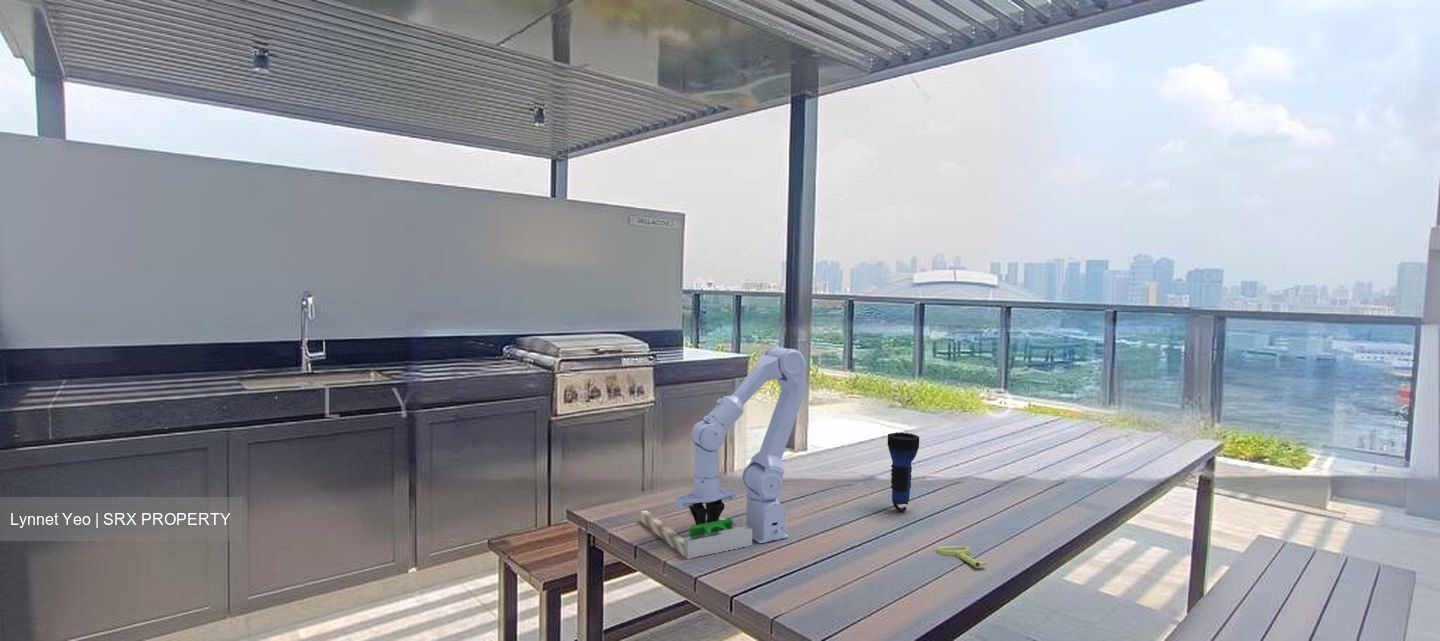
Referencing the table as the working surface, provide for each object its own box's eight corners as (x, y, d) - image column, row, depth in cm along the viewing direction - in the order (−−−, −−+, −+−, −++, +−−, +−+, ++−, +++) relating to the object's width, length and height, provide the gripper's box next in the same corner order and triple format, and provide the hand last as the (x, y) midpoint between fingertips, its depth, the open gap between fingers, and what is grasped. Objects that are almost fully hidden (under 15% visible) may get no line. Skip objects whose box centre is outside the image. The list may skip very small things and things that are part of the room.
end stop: (752, 546, 144) (752, 528, 143) (687, 559, 136) (688, 541, 136) (747, 542, 145) (747, 525, 145) (683, 556, 138) (683, 537, 137)
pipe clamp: (694, 552, 140) (697, 535, 139) (687, 542, 143) (690, 525, 142) (735, 542, 145) (738, 526, 144) (727, 533, 148) (730, 517, 147)
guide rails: (747, 542, 145) (747, 532, 145) (683, 556, 138) (683, 544, 137) (698, 511, 166) (698, 501, 166) (640, 521, 158) (640, 511, 158)
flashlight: (917, 518, 163) (918, 440, 162) (884, 514, 165) (886, 437, 165) (918, 508, 170) (919, 433, 170) (887, 505, 173) (888, 431, 172)
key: (977, 573, 132) (978, 563, 132) (932, 552, 143) (932, 542, 142) (1001, 567, 135) (1001, 557, 135) (955, 547, 146) (955, 537, 146)
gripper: (725, 466, 152) (724, 523, 153) (669, 474, 145) (669, 533, 146) (740, 474, 146) (740, 533, 147) (683, 483, 139) (682, 544, 140)
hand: (705, 534), depth 146 cm, fingers closed on pipe clamp, 2 cm apart
